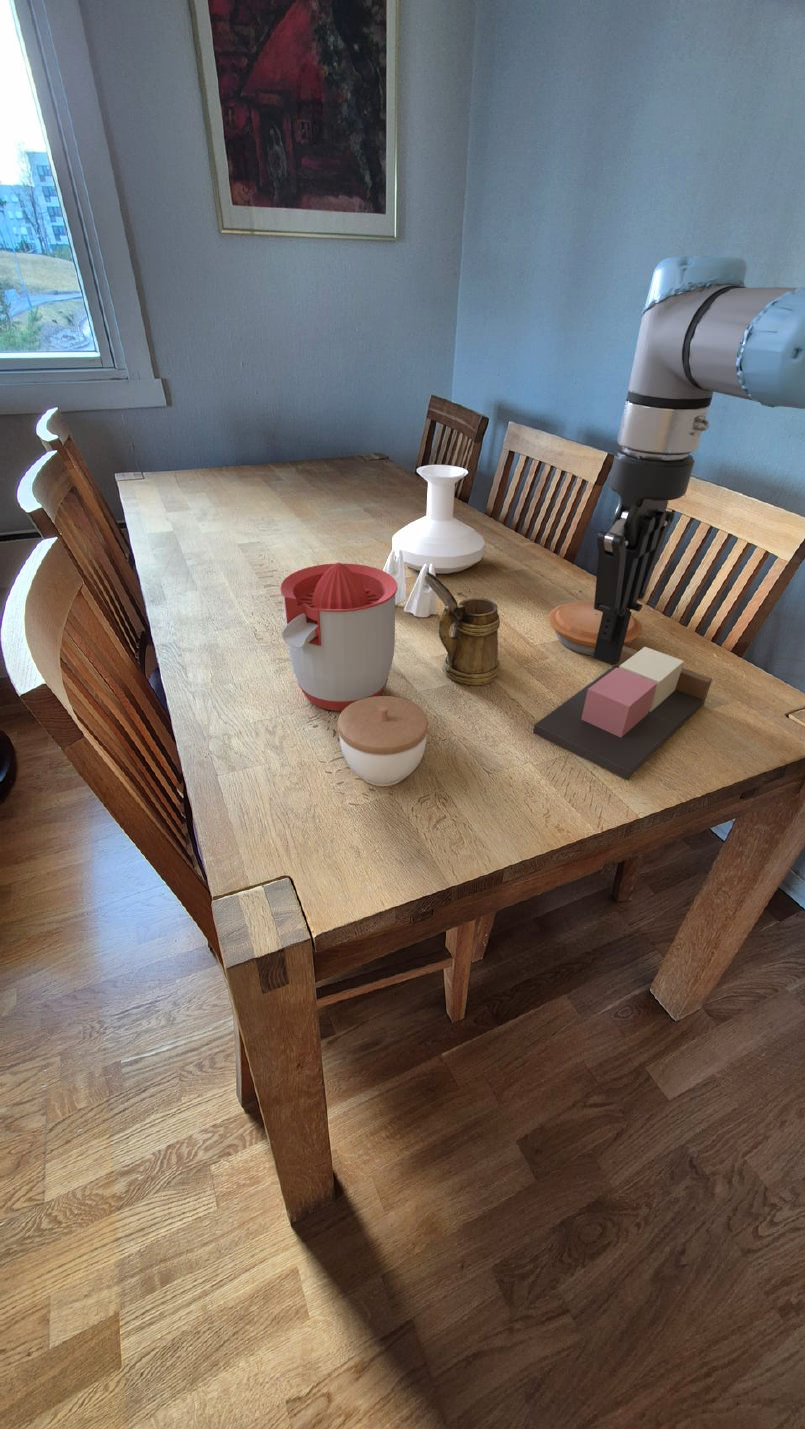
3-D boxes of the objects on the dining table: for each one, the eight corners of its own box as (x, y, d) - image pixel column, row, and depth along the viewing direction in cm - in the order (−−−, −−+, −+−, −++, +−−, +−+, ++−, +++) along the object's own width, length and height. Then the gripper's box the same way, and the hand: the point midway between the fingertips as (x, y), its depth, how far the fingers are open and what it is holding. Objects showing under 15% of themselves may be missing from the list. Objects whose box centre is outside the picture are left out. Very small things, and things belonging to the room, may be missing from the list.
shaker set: (371, 606, 118) (371, 549, 111) (383, 598, 121) (383, 542, 114) (428, 621, 113) (430, 562, 107) (438, 612, 116) (441, 555, 110)
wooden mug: (407, 671, 98) (410, 561, 88) (479, 652, 104) (490, 547, 94) (436, 698, 92) (443, 584, 82) (511, 677, 97) (526, 567, 87)
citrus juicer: (259, 700, 91) (241, 569, 79) (339, 654, 102) (334, 534, 91) (339, 741, 83) (333, 602, 72) (416, 686, 95) (421, 560, 83)
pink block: (648, 713, 87) (657, 683, 84) (621, 738, 82) (629, 706, 80) (609, 697, 91) (616, 667, 88) (580, 719, 86) (587, 688, 83)
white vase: (458, 589, 125) (465, 490, 114) (373, 568, 133) (373, 474, 122) (497, 558, 139) (508, 468, 128) (419, 541, 147) (422, 455, 136)
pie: (642, 668, 101) (650, 640, 98) (544, 657, 103) (549, 629, 100) (632, 625, 113) (639, 600, 110) (546, 616, 115) (550, 591, 113)
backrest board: (703, 704, 92) (712, 678, 90) (627, 780, 78) (635, 752, 75) (616, 670, 100) (622, 645, 97) (532, 733, 85) (537, 706, 83)
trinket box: (442, 779, 77) (447, 717, 72) (367, 811, 72) (366, 747, 67) (396, 735, 84) (397, 675, 79) (325, 761, 80) (321, 700, 74)
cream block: (675, 690, 92) (684, 661, 90) (650, 712, 88) (660, 681, 85) (637, 675, 96) (645, 646, 93) (611, 695, 91) (619, 665, 88)
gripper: (662, 469, 55) (607, 692, 69) (719, 448, 63) (659, 652, 77) (587, 454, 60) (549, 667, 73) (649, 436, 67) (604, 631, 81)
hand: (605, 659), depth 75 cm, fingers closed
